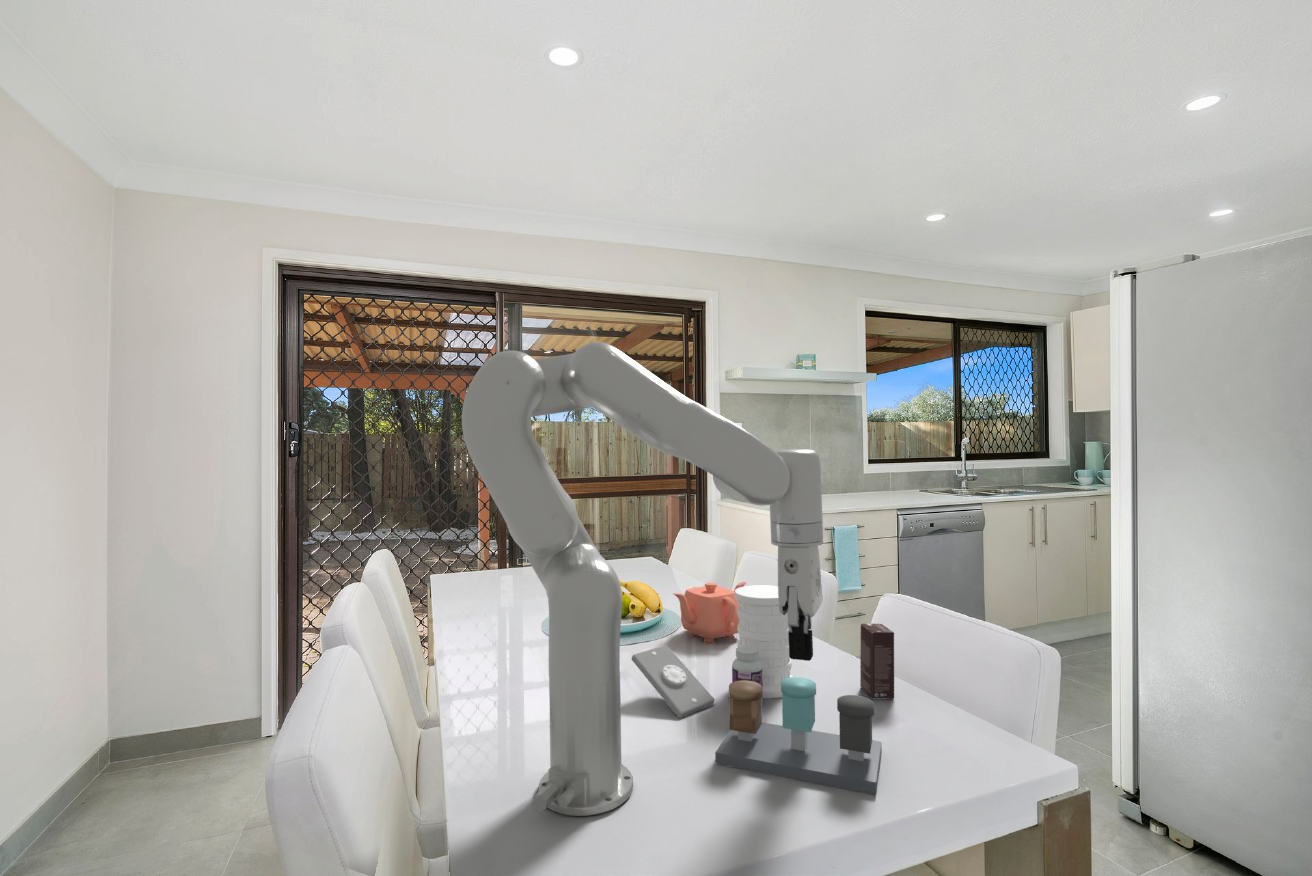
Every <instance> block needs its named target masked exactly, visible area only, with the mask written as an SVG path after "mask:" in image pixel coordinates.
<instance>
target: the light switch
mask: <svg viewBox="0 0 1312 876" xmlns="http://www.w3.org/2000/svg"><path fill="white" fill-rule="evenodd" d="M631 656H632V657H631V661H632V662H633V663H634V664H635V666H636V667H637V668H638V670H639V671H640V672H641V673H642V675H644V677H645V678H646V680H648V682H649V683H650V685H652V687H653V688H654V689H655V691H656V692H657V693H658V695H660V697H661V698H662V700H663V701H664V702H665V703H666V704H667V705H668V707H669V708H670V709H671V710H672V712H674V714H675V715H676V717H677V718H679V719H682V718H685V717H686V715H687V716H689V715H691V714H693V713H696V712H699V711H700V710H703V709H705V708H708V707H710V706H713V705H714V703H715V701H716V699H715V698H714V697H713V695H712V694H711V693H710V692H709V691H708V690H707V689H706V688H705V687H704V686H703V684H702V683H701V682H700V681H699V680H698V679H697V677H696V676H695V675H694V674H693V673H692V671H690V669H689V668H688V667H687V666H686V665H685V663H684V662H682V661H681V659H680V658H679V657H678V656H677V655H676V653H674V651H673V650H672V649H671V648H670V647H669V646H668V645H667V644H664V645H660V646H658V647H654V648H651V649H650V648H649V649H647V650H644V651H640V652H637V653H635V654H632V655H631Z"/></svg>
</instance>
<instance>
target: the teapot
mask: <svg viewBox="0 0 1312 876" xmlns="http://www.w3.org/2000/svg"><path fill="white" fill-rule="evenodd" d="M746 584H747V582H746V581H744V582H739V583H737V584H736V586H735V587H734V590H731V589H729V588H726V587H723V586H722V587H721V586H717V585H718V584H717V583H715V582H707V583H705V584H704V586H698V587H695V586H694V587H692V588H687V589H686V590H685V591H684V594H683V593H679V592H677V593H674V592H673V593H672V595H674V596H676V597H677V599H678V601H679V606H680V621H681V625H682V627H683V629H684V630H685V631H687V632H689V634H688V637H690V638H691V637H692V638H697V637H702V638H703V643H704V644H710V645H711V644H714V643H715V639H718V638H722V637H723V638H725V639H727V640H731V639H732V640H733V639H735V638H736V636H735V634H738V631H737V627H738V624H739V618H738V615H737V609H738V607H739V601H738V600H736V599H735V590H736V589H737V588H740V587H743V586H746Z"/></svg>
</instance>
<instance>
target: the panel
mask: <svg viewBox="0 0 1312 876" xmlns="http://www.w3.org/2000/svg"><path fill="white" fill-rule="evenodd" d="M882 747H883V746H882V741H879V740H873V739H872V745H871V751H870V754H869V753H863V752H857V751H851V750H845V749H840V734H836V733H830V732H829V733H828V732H824V731H823V732H822V731H817V730H812V731H811V732H804V731H798V730H792V729H786V728H783V724H782V725H780V724H774V723H769V722H763V721H762V724H761V726H760V728H759V729H758V731H757V733H756V734H752V733H746V732H740V731H734V730H730V729H729V731H728V733H727V734H726V735H725V737H724V739H722V741H721V743H720V745H719V746H718V747H717V749H716V751H715V752H714V753H715V756H714V757H715V761H714V762H715V764H717V765H722V766H727V767H732V768H738V769H742V770H746V771H752V772H758V773H764V774H768V775H774V776H779V777H783V778H790V779H794V780H800V781H804V782H810V783H815V784H819V785H820V784H821V785H823V786H824V785H825V786H828V787H829V786H830V787H834V788H835V787H836V788H840V789H845V790H851V791H856V792H861V793H866V794H870V795H877V792H878V791H877V790H878V784H879V776H880V768H881V761H882V752H883V751H882V750H883V749H882Z"/></svg>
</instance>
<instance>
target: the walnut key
mask: <svg viewBox="0 0 1312 876" xmlns="http://www.w3.org/2000/svg"><path fill="white" fill-rule="evenodd" d="M728 695H729V697H728V701H729V702H728V706H729V707H728V713H729V715H728V716H729V722H728V723H729V731H730V730H734V731H740V732H746V733H752V734H756V733H757V731H758V729H759V728H760V726H761V724H762V722H763V702H762V686H761V685H760V684H759V683H757V682H753V681H746V680H741V681H735V682H732V681H731V683H729V685H728Z"/></svg>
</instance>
